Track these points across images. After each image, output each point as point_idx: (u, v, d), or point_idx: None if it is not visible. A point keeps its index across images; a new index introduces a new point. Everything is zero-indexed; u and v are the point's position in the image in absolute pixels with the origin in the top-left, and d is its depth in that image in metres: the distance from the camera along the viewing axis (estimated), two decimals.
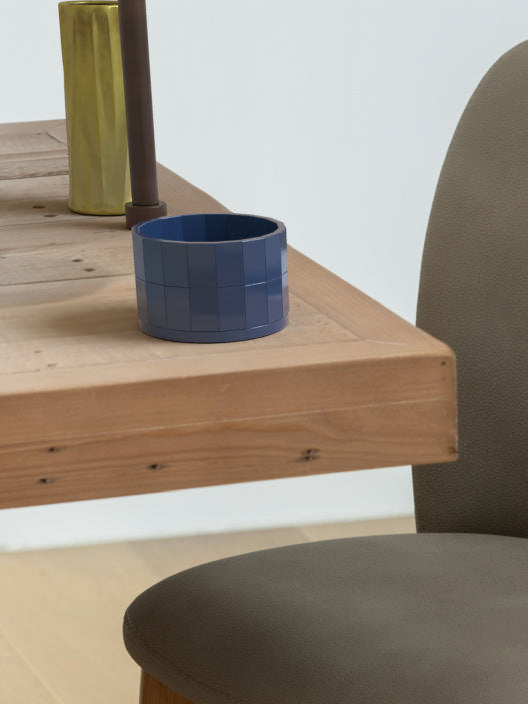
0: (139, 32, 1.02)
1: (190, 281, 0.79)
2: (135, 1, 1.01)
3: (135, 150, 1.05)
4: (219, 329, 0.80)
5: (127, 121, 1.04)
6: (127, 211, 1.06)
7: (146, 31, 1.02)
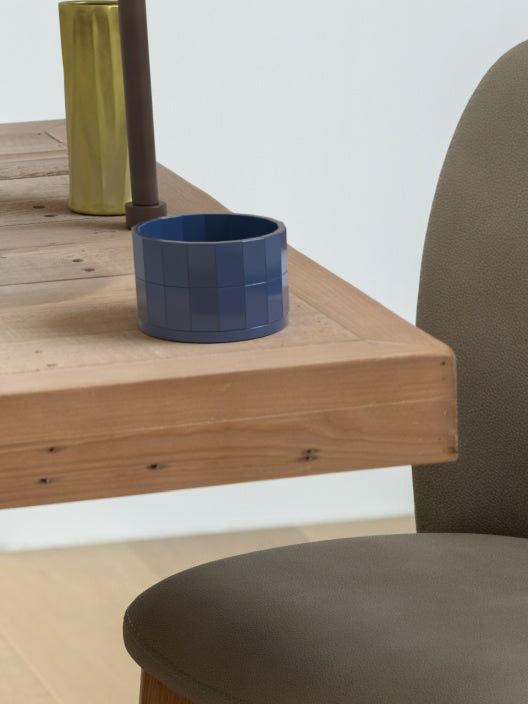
0: (139, 32, 1.02)
1: (190, 281, 0.79)
2: (135, 1, 1.01)
3: (135, 150, 1.05)
4: (219, 329, 0.80)
5: (127, 121, 1.04)
6: (127, 211, 1.06)
7: (146, 31, 1.02)
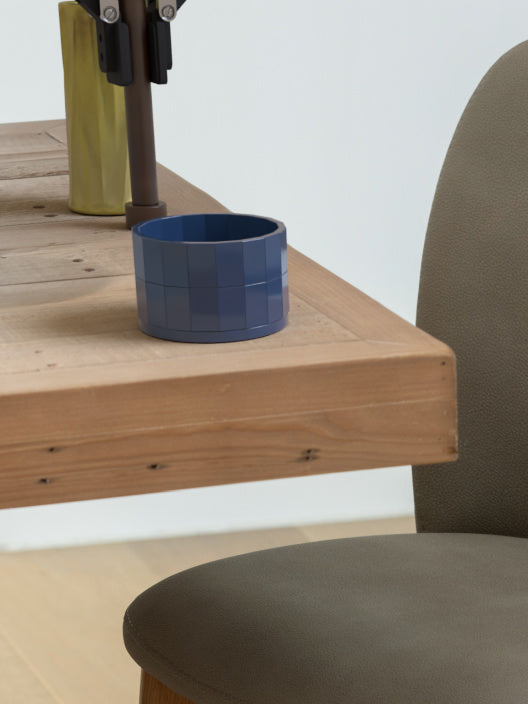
0: (139, 32, 1.02)
1: (190, 281, 0.79)
2: (135, 1, 1.01)
3: (135, 150, 1.05)
4: (219, 329, 0.80)
5: (127, 121, 1.04)
6: (127, 211, 1.06)
7: (146, 31, 1.02)
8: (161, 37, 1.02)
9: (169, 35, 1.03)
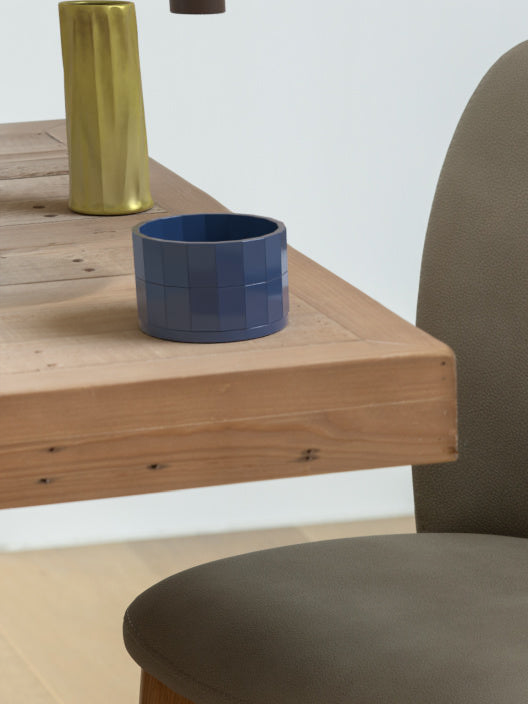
0: None
1: (190, 281, 0.79)
2: None
3: None
4: (219, 329, 0.80)
5: None
6: None
7: None
8: None
9: None
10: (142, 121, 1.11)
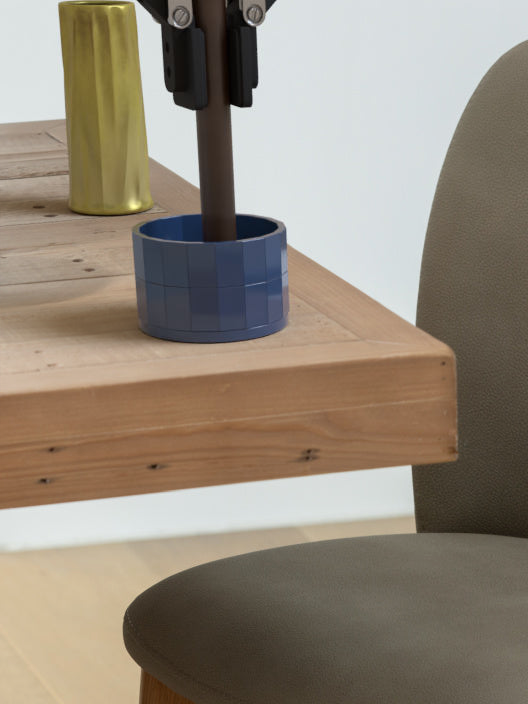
0: (217, 40, 0.78)
1: (190, 281, 0.79)
2: None
3: (209, 192, 0.81)
4: (219, 329, 0.80)
5: (199, 154, 0.81)
6: None
7: (226, 38, 0.79)
8: (246, 47, 0.79)
9: (255, 44, 0.80)
10: (142, 121, 1.11)
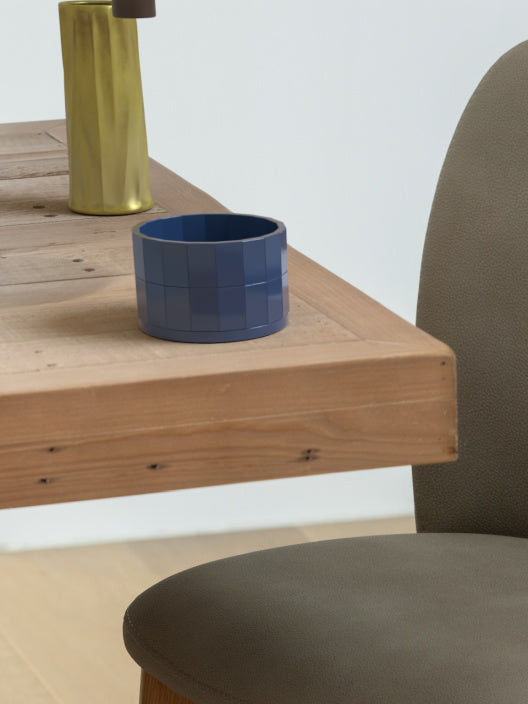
0: None
1: (190, 281, 0.79)
2: None
3: None
4: (219, 329, 0.80)
5: None
6: None
7: None
8: None
9: None
10: (142, 121, 1.11)
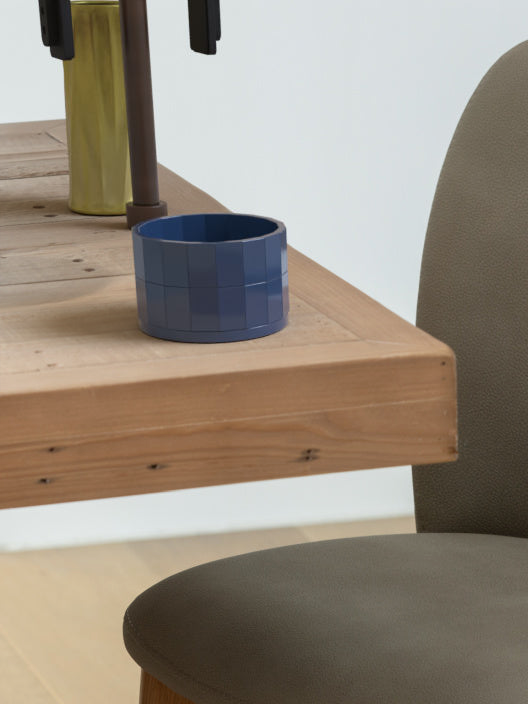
0: (140, 32, 1.02)
1: (190, 281, 0.79)
2: (136, 1, 1.01)
3: (136, 150, 1.05)
4: (219, 329, 0.80)
5: (128, 121, 1.04)
6: (128, 211, 1.06)
7: (147, 31, 1.02)
8: (211, 8, 1.03)
9: (218, 6, 1.04)
10: None
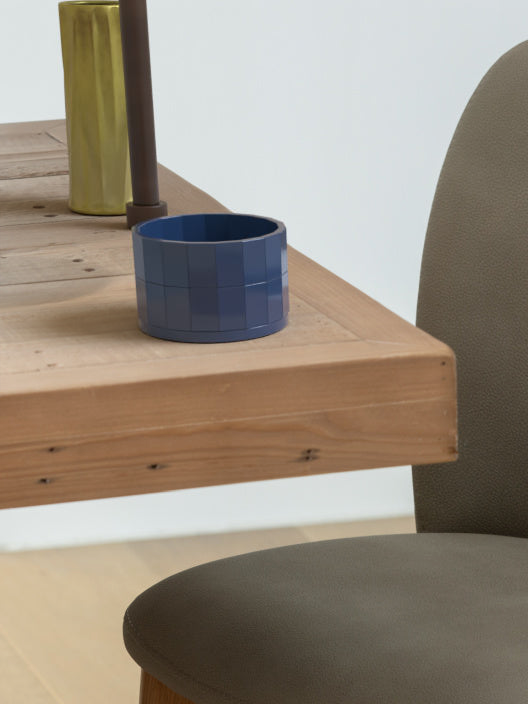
0: (140, 32, 1.02)
1: (190, 281, 0.79)
2: (136, 1, 1.01)
3: (136, 150, 1.05)
4: (219, 329, 0.80)
5: (128, 121, 1.04)
6: (128, 211, 1.06)
7: (147, 31, 1.02)
8: None
9: None
10: None
